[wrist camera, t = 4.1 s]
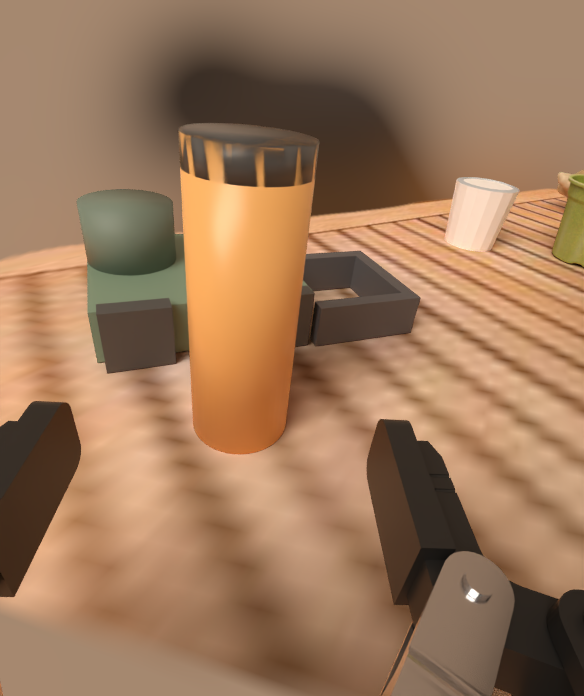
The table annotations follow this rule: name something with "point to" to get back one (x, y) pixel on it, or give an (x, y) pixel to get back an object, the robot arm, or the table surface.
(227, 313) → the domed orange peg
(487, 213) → the white cup
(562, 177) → the beige piece
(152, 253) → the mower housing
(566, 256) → the plant pot
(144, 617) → the table surface
